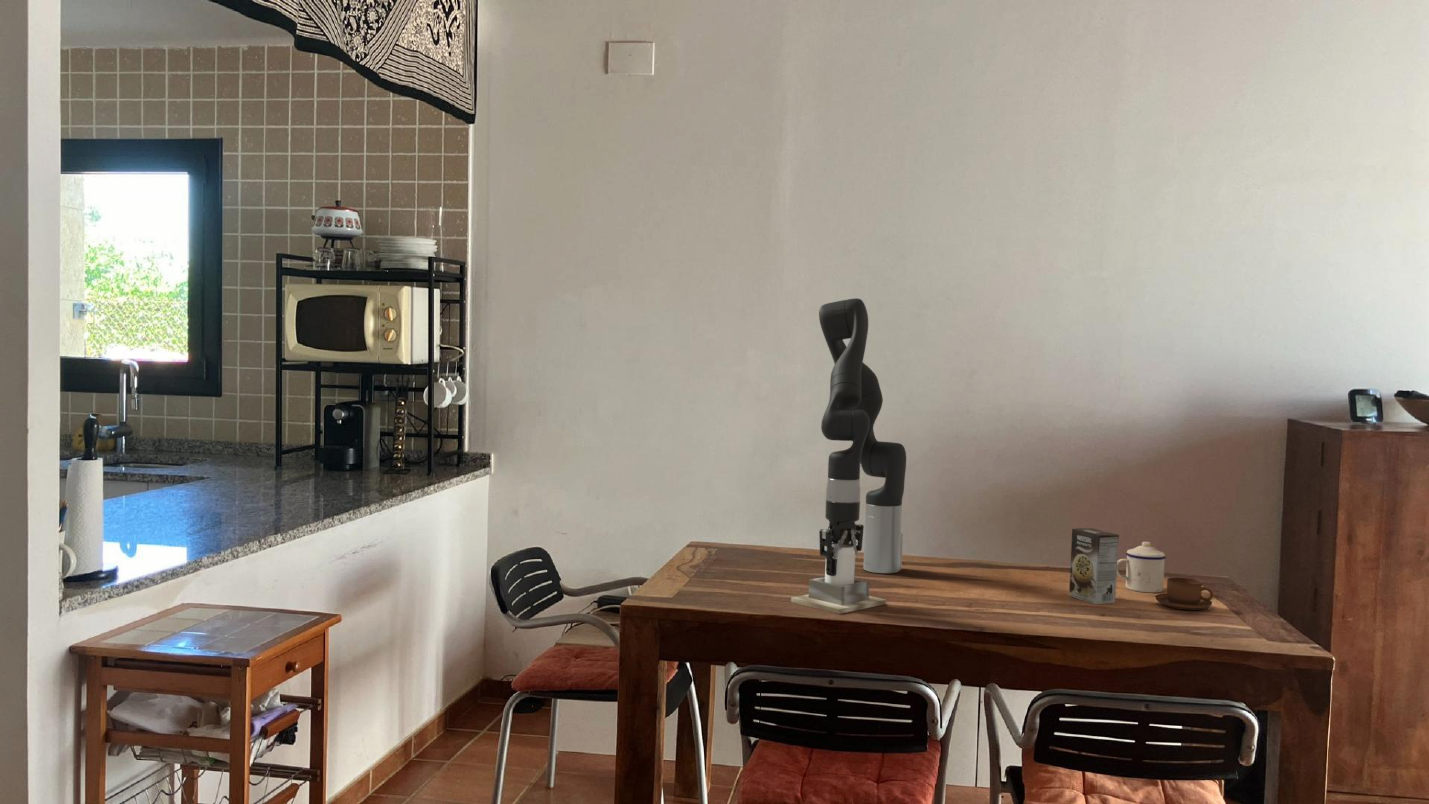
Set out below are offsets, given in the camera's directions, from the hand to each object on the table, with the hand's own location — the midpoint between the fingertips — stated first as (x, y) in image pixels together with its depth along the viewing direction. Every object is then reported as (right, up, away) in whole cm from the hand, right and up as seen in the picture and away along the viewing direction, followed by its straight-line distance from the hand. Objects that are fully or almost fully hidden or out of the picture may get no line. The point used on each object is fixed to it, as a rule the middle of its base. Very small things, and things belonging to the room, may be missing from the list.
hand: (840, 573), depth 249 cm
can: (0, -6, 0) cm, 6 cm away
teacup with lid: (+76, -8, +26) cm, 81 cm away
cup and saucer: (+79, -9, +7) cm, 80 cm away
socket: (0, -7, 0) cm, 7 cm away
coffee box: (+60, -8, +12) cm, 62 cm away
